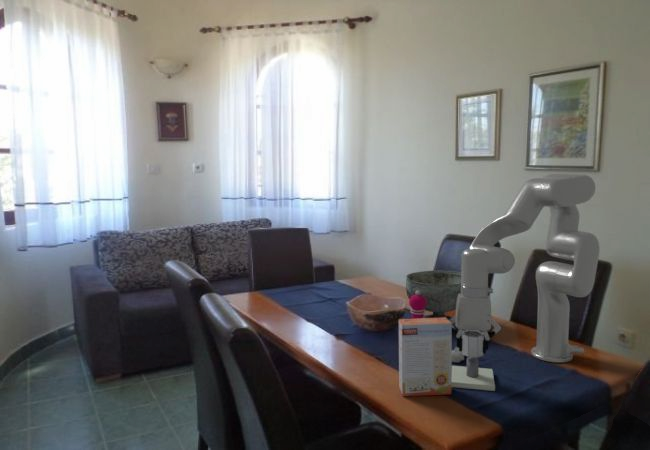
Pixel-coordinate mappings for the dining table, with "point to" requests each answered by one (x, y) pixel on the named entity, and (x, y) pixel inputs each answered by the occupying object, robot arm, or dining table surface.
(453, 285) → the decorative bowl
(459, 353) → the pale two-lobed sculpture
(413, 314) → the pepper mill
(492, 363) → the dining table surface
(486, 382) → the square plate with knob
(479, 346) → the sleeve
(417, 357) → the cracker box
